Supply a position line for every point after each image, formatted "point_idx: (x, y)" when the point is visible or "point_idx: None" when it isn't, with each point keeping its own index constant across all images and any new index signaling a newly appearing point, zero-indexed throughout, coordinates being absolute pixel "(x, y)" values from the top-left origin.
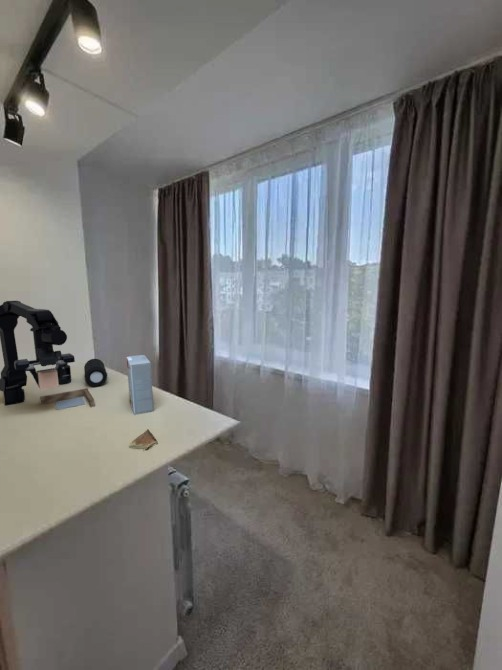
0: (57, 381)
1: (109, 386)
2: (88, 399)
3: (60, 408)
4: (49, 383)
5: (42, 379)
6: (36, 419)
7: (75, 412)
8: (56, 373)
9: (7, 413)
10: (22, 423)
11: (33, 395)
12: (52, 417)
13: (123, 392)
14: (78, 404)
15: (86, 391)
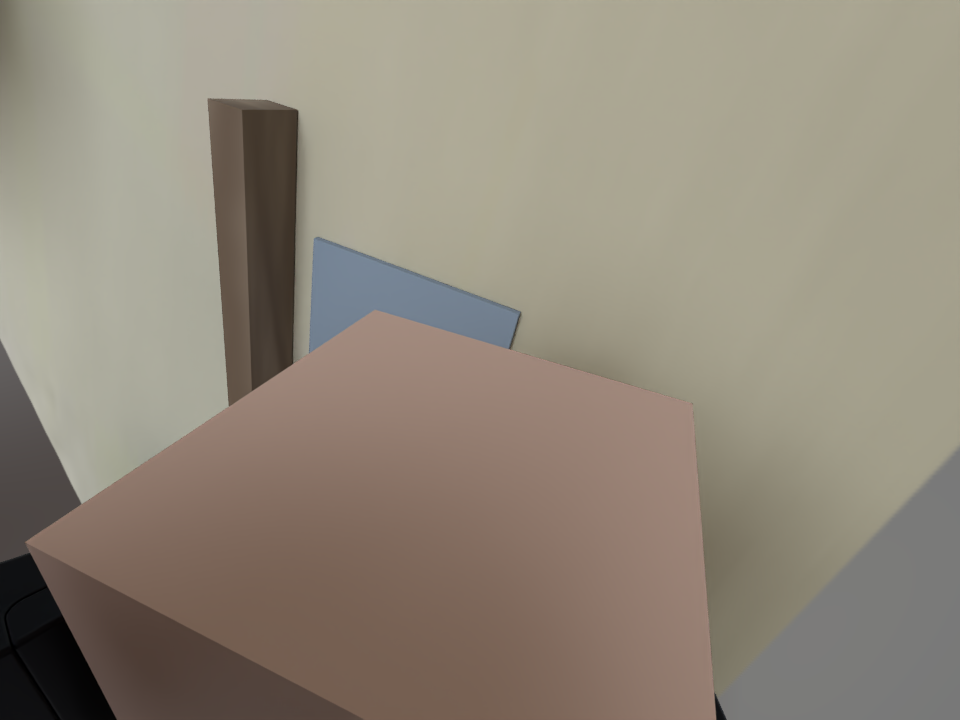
0: (325, 355)
1: (147, 434)
2: (264, 223)
3: (493, 307)
4: (484, 398)
5: (601, 554)
6: (764, 231)
7: (433, 83)
8: (140, 490)
9: (801, 589)
10: (923, 241)
11: None
12: (638, 140)
13: (70, 239)
14: (359, 266)
15: (242, 390)
